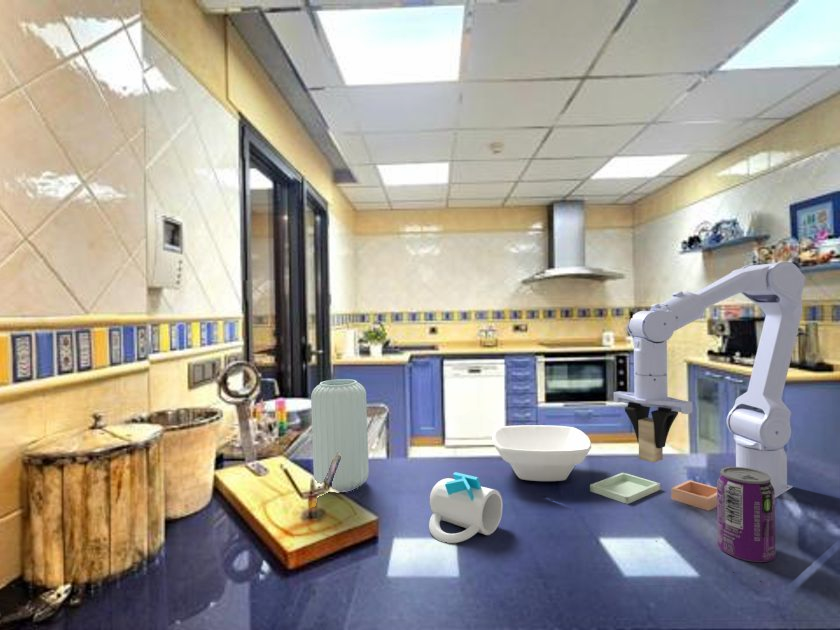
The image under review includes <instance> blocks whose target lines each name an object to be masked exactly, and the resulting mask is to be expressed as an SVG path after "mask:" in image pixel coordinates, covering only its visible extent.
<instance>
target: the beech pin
mask: <svg viewBox="0 0 840 630" xmlns="http://www.w3.org/2000/svg"><path fill="white" fill-rule="evenodd" d="M638 426H639V444H638V460H642V461H646V462H650V463H656V462H659V461H662V460H663V455H664V454H663V452H664V449H663V448H664V447H662V448H656V444H655V427H654V422H653V418H652V417H649V416H648V417H646V418H643V419H639V420H638Z"/></svg>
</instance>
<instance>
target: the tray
mask: <svg viewBox="0 0 840 630" xmlns="http://www.w3.org/2000/svg"><path fill="white" fill-rule="evenodd" d="M660 490H661V483H660V482H656V481H653V480H650V479H646V478H643V477H639V476H636V475H633V474H629V473H625V472H620V473H618V474H615V475H612V476H610V477H607V478H605V479H603V480H600V481H596V482H593V483H590V485H589V492H591V493H595V494H597V495H601V496H603V497H605V498H609V499H612V500H615V501H617V502H620V503H623V504H624V505H630V504H631V503H634V502H636V501H638V500H640V499H642V498H644V497H647V496H649V495H651V494H653V493H656V492H658V491H660Z"/></svg>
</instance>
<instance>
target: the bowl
mask: <svg viewBox="0 0 840 630" xmlns="http://www.w3.org/2000/svg"><path fill="white" fill-rule="evenodd" d="M491 441H492V443H493V445H494V447H495V449H496V451H497V452H498V453H499V456H500V458H502V459H501V460H503V461H504V462H505V463H509V465H510V466H511V468H512V470H513V472H514V474H515V475H516V476H517V477H518V479H520V480H525V481H533V482H534V481H535V482H557V481H558V482H561V481H566V480H567V478H568V477H569V476H570V474H571V472H572V471H573V469H574V468H575V466H576V465H581V464H582V463H583V461H584V460H585V459H586V457H587V455H588V454H589V452H590V451H591V449H592V441H591V440H590V437H589V436H588V435H587V434H586V433H585V432H583V431H582V430H581V429H578V428H576V427H574V426H565V425H564V426H563V425H547V424H546V425H545V424H544V425H541V424H539V425H537V424H536V425H535V424H534V425H533V424H532V425H531V424H529V425H528V424H527V425H526V424H524V425H523V424H521V425H505V426H499V427H497V428H496V429H495V430H494V431H493V433H492V436H491Z"/></svg>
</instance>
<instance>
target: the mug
mask: <svg viewBox="0 0 840 630" xmlns="http://www.w3.org/2000/svg"><path fill="white" fill-rule="evenodd" d="M452 476H453V478H443V479H441V480H439V481H438V482H436V484H435V485H434V486H433V487H432V489H431V491H430V494H429V507H430V509H431V511H432V514H431V516H430V519H429V522H428V529H429V532H430V534H431V536H432V537H433V538H434V539H435V540H437V541H439V540H440V541H439V542H441V541H442V542H441V543H445V542H447V543H446V544H456V543H461V542H464V541H467V540H469V539H470V538H472V537H473V536H475V535H476V534H477V533H479V534H482V535H485V536H490V535H491V534H493V533H494V532H495V531H496V530H497V529H498V526H499V525H500V523H501V519H502V515H503V497H502V495H501V493H500V491H498V490H497V489H494V488H489V487H486V486H481V482H480V479H479V477H478V476H473V475H469V474H465V473H461V472H456V471H455V472H453V474H452ZM441 521H442V522H446V523H449V524H452V525H456V526H458V527H462V528H464V529H465V530H463V531H460V532H456V533H449V532H445V531H444V530H443V529H442V527H441V524H440V523H441Z"/></svg>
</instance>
